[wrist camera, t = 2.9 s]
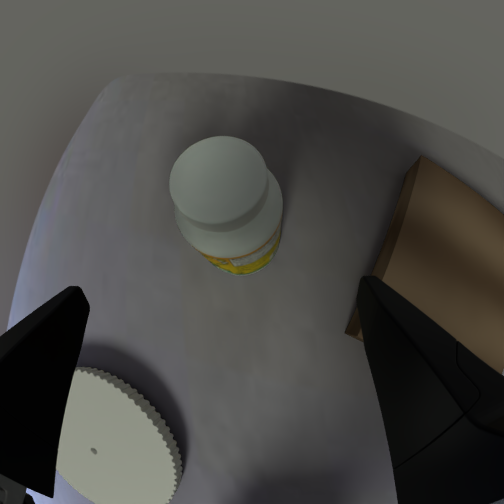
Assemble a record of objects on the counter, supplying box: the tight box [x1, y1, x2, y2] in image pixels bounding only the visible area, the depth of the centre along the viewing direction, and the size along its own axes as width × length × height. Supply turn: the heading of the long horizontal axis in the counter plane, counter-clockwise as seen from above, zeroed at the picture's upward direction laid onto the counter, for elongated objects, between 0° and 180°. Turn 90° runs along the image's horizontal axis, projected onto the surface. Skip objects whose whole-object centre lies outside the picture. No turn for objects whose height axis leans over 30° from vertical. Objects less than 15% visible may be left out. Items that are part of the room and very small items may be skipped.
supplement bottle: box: [169, 136, 283, 275], centre depth 16 cm, size 5×5×10 cm
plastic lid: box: [56, 367, 182, 504], centre depth 16 cm, size 14×14×2 cm
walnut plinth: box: [345, 155, 504, 374], centre depth 17 cm, size 14×14×3 cm
